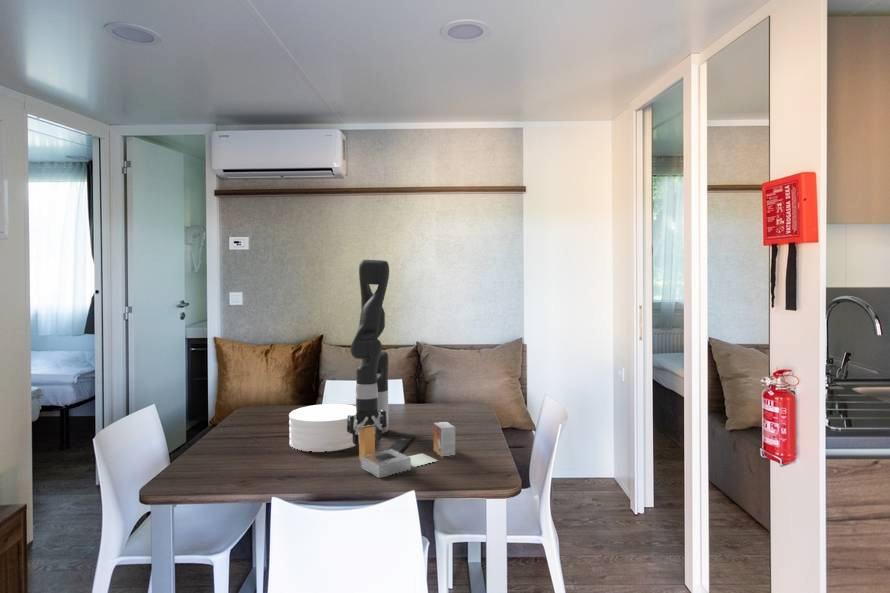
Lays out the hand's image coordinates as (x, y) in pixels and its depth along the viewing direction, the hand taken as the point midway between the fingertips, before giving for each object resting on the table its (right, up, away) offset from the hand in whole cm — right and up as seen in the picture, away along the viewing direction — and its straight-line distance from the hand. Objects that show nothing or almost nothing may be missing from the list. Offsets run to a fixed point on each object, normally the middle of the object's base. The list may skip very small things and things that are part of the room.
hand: (367, 442), depth 188 cm
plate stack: (-20, -6, +25) cm, 32 cm away
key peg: (0, -6, 0) cm, 6 cm away
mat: (+18, -6, 0) cm, 19 cm away
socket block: (+7, -7, -8) cm, 12 cm away
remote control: (+10, -7, +17) cm, 21 cm away
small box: (+27, -6, +8) cm, 29 cm away
